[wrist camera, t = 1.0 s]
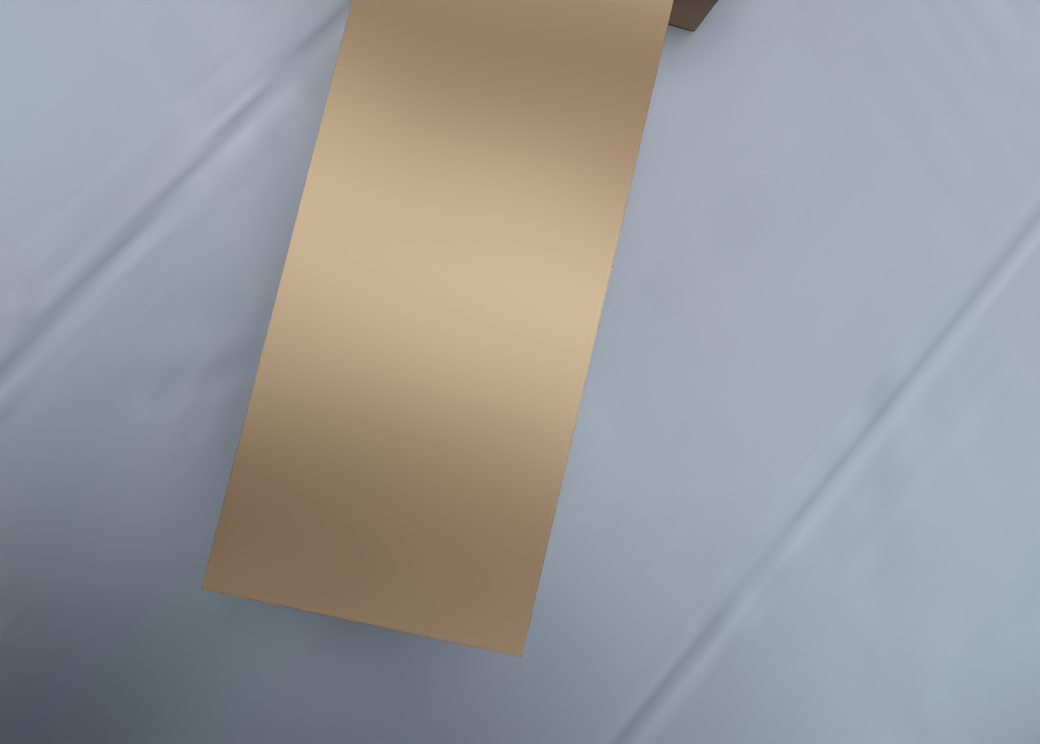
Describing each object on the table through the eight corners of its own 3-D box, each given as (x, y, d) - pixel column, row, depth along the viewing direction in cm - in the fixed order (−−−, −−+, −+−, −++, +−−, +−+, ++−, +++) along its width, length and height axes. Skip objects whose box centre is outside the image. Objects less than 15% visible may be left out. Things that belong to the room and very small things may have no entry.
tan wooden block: (466, 549, 22) (521, 656, 12) (291, 510, 22) (201, 588, 12) (586, 45, 23) (727, -233, 13) (419, -3, 23) (435, -327, 13)
